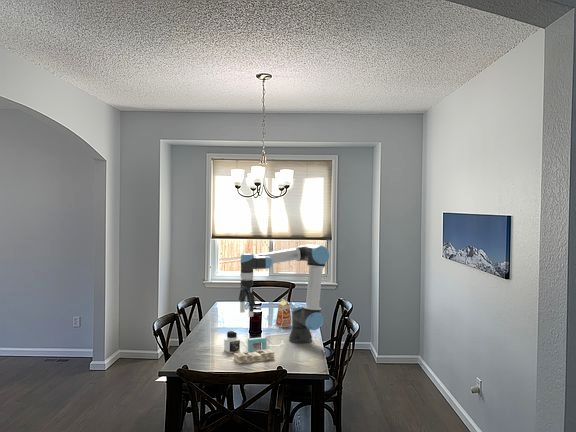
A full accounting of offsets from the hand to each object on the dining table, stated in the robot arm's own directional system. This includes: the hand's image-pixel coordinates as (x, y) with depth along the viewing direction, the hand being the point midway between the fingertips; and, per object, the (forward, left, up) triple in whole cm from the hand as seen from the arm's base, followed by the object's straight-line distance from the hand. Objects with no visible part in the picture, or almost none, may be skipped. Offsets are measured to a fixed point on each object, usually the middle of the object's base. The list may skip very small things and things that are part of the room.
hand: (246, 314), depth 329 cm
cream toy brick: (+1, +15, -23) cm, 28 cm away
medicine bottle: (+6, -8, -24) cm, 26 cm away
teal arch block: (-7, +1, -23) cm, 24 cm away
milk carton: (-55, -59, -24) cm, 84 cm away
